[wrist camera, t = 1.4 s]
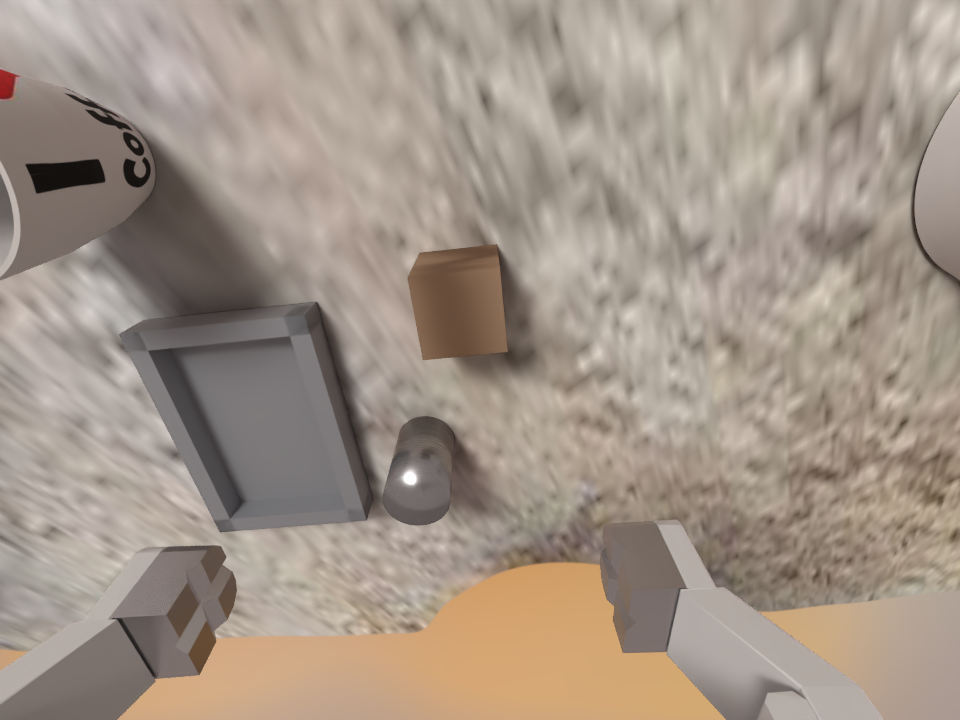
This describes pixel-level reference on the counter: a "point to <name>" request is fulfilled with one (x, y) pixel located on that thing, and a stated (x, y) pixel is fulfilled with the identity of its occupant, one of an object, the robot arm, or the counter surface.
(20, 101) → the cup
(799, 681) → the robot arm
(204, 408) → the parts tray
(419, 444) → the metal cylinder
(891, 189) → the counter surface
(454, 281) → the walnut block
